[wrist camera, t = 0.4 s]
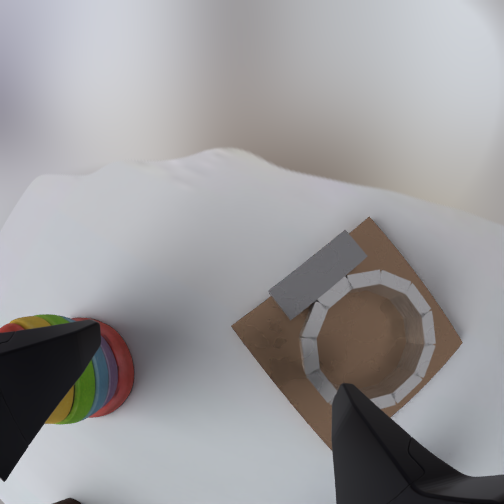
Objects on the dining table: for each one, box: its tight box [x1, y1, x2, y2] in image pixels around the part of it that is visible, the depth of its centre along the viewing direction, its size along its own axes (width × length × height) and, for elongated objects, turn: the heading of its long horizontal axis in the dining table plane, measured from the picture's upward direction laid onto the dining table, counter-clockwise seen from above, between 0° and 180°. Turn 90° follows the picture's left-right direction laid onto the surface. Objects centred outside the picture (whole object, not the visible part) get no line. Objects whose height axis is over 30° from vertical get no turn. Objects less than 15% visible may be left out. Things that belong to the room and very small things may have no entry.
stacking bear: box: [0, 315, 134, 424], centre depth 15 cm, size 11×10×18 cm
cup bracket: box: [231, 217, 463, 450], centre depth 19 cm, size 15×15×4 cm
